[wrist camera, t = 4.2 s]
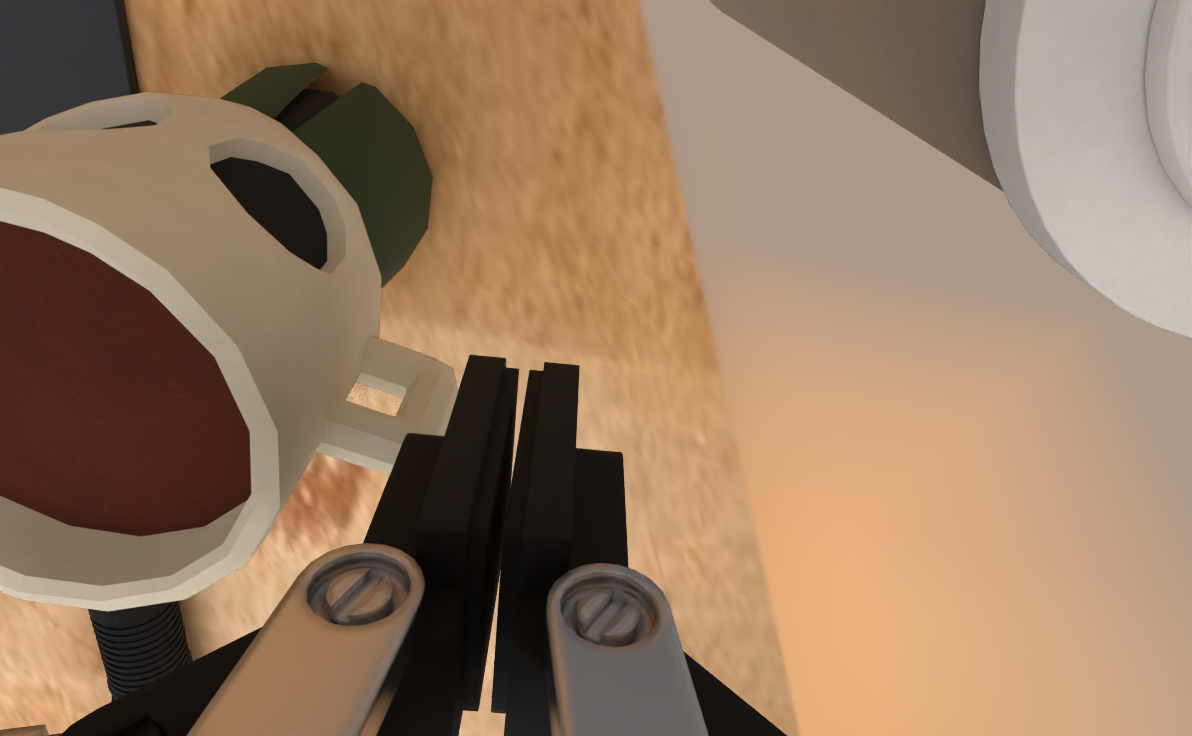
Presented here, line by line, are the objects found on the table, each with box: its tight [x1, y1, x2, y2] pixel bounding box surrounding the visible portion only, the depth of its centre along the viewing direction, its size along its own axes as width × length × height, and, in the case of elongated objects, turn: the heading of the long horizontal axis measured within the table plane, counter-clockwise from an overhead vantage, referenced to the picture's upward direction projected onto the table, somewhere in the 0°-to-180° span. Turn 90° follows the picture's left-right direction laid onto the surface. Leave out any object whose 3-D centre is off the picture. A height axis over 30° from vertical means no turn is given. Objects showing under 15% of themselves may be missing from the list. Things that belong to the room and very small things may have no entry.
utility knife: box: [88, 601, 192, 702], centre depth 31 cm, size 22×4×3 cm, turn 173°
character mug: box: [0, 63, 458, 611], centre depth 16 cm, size 11×7×13 cm, turn 68°
